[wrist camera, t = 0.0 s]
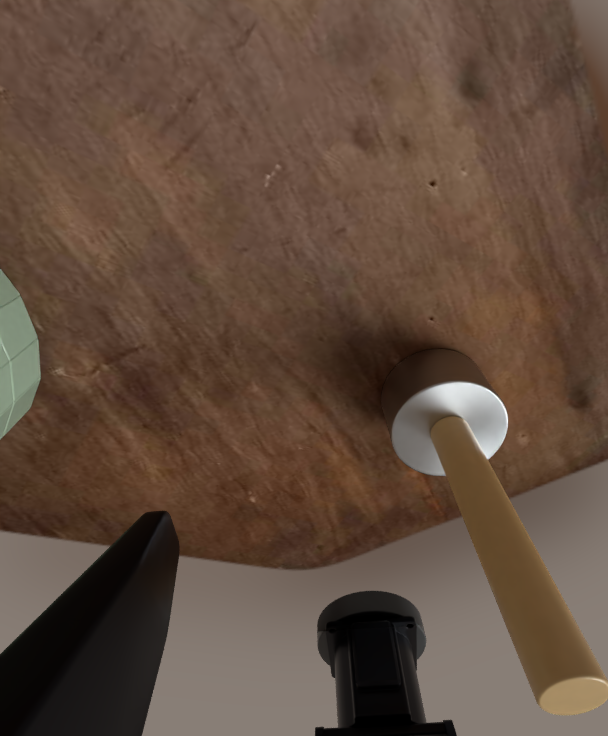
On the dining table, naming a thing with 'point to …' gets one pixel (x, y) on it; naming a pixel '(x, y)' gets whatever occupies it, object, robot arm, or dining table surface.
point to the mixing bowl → (16, 357)
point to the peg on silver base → (491, 518)
